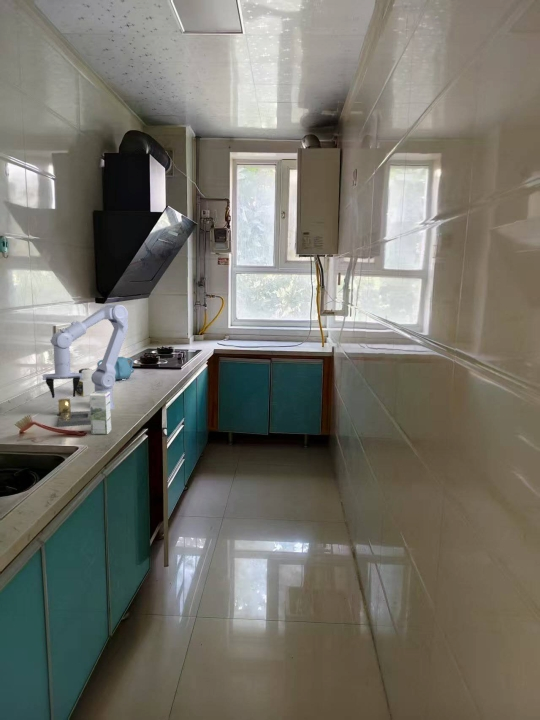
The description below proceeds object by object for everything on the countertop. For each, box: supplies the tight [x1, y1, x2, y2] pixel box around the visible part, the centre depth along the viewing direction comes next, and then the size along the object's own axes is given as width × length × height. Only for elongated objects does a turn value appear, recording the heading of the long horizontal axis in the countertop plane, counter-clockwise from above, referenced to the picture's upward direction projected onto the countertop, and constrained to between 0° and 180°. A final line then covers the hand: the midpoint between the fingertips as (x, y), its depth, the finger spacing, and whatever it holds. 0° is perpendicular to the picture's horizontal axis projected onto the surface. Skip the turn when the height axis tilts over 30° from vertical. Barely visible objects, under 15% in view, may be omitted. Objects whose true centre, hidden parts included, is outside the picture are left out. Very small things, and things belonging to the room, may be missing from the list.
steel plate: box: [57, 410, 91, 428], centre depth 195 cm, size 14×14×2 cm
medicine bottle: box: [75, 368, 95, 397], centre depth 239 cm, size 7×7×12 cm
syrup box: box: [89, 392, 112, 435], centre depth 181 cm, size 6×6×14 cm
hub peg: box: [57, 397, 72, 417], centre depth 203 cm, size 4×4×6 cm
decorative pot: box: [96, 356, 135, 381], centre depth 274 cm, size 16×16×14 cm
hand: (63, 396), depth 202 cm, fingers open, 7 cm apart
